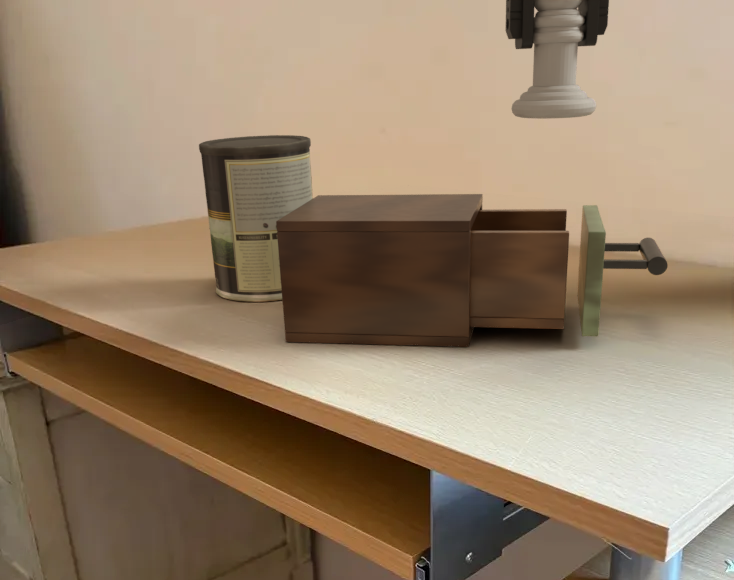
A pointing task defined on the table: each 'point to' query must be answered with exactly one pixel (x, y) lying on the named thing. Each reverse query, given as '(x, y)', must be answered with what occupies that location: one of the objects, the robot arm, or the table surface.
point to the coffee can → (252, 208)
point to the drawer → (543, 268)
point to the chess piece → (555, 64)
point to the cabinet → (378, 269)
